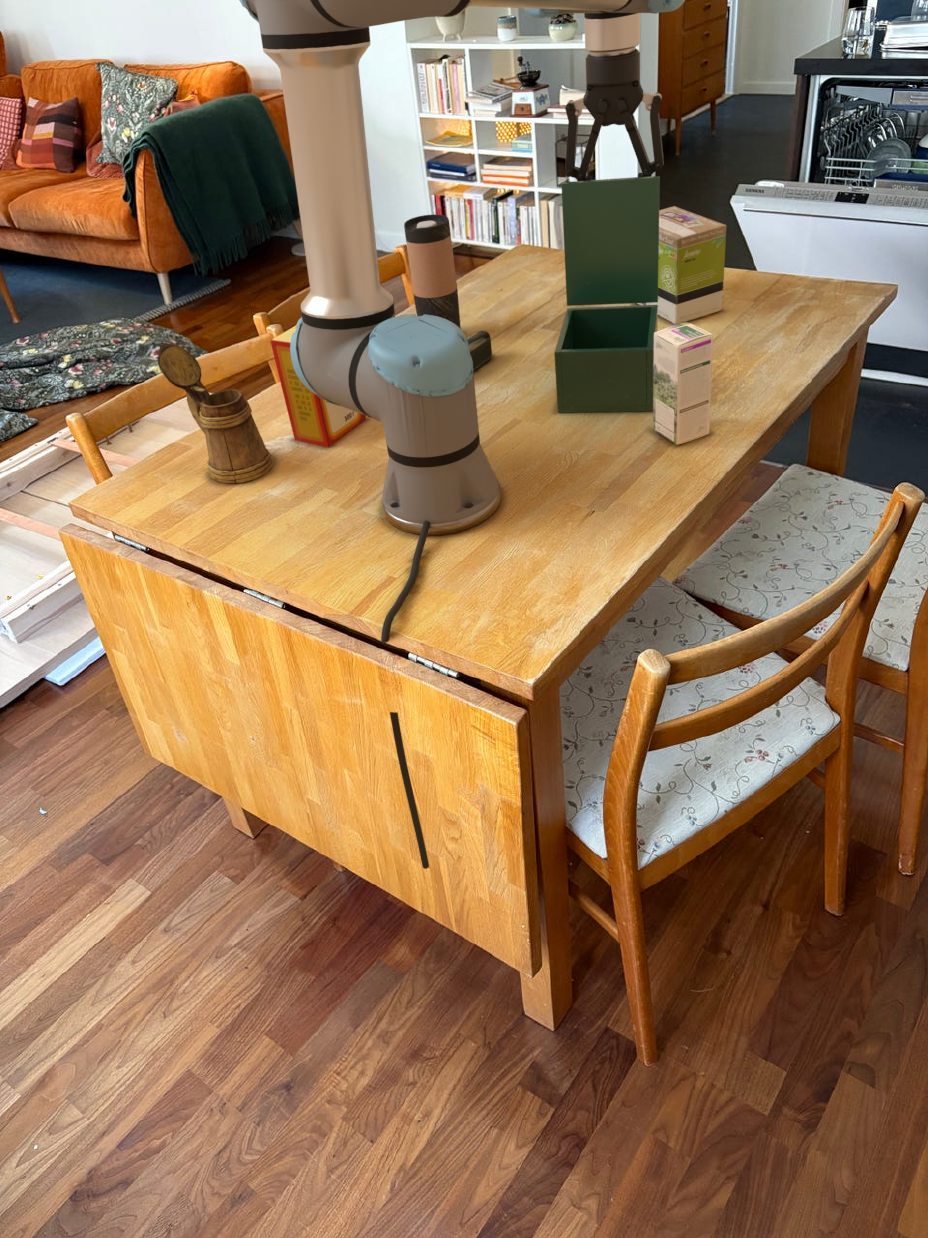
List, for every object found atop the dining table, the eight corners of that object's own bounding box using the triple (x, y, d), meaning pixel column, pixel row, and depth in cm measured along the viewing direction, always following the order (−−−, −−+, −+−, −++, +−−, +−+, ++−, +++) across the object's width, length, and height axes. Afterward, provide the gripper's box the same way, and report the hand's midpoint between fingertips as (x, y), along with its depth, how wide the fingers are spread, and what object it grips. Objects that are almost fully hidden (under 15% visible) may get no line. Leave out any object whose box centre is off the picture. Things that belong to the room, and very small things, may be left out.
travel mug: (464, 328, 171) (451, 212, 159) (460, 345, 165) (446, 225, 153) (422, 331, 172) (406, 216, 160) (417, 348, 167) (399, 230, 154)
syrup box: (711, 434, 131) (716, 332, 122) (675, 446, 130) (678, 344, 121) (686, 418, 135) (689, 319, 126) (651, 431, 134) (652, 330, 125)
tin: (652, 411, 138) (653, 349, 133) (557, 412, 141) (554, 352, 136) (657, 362, 151) (657, 304, 145) (569, 365, 154) (567, 307, 148)
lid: (659, 177, 134) (661, 162, 140) (561, 183, 137) (567, 169, 143) (657, 302, 145) (659, 284, 151) (566, 305, 148) (572, 287, 154)
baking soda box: (328, 447, 141) (305, 343, 131) (294, 440, 144) (269, 337, 134) (366, 419, 147) (346, 317, 137) (332, 412, 150) (311, 313, 140)
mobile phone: (478, 327, 159) (425, 360, 149) (493, 329, 157) (441, 363, 148) (481, 355, 161) (429, 390, 152) (496, 358, 160) (444, 393, 151)
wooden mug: (217, 444, 146) (183, 330, 135) (285, 459, 139) (255, 340, 128) (176, 472, 140) (137, 355, 129) (245, 489, 134) (209, 367, 123)
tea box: (626, 301, 173) (625, 216, 164) (673, 288, 176) (675, 203, 166) (675, 326, 162) (677, 236, 153) (724, 311, 164) (729, 222, 155)
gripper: (686, 38, 133) (681, 210, 147) (544, 52, 138) (553, 218, 152) (685, 47, 128) (681, 225, 142) (537, 61, 132) (547, 233, 146)
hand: (614, 221), depth 147 cm, fingers closed on lid, 7 cm apart
